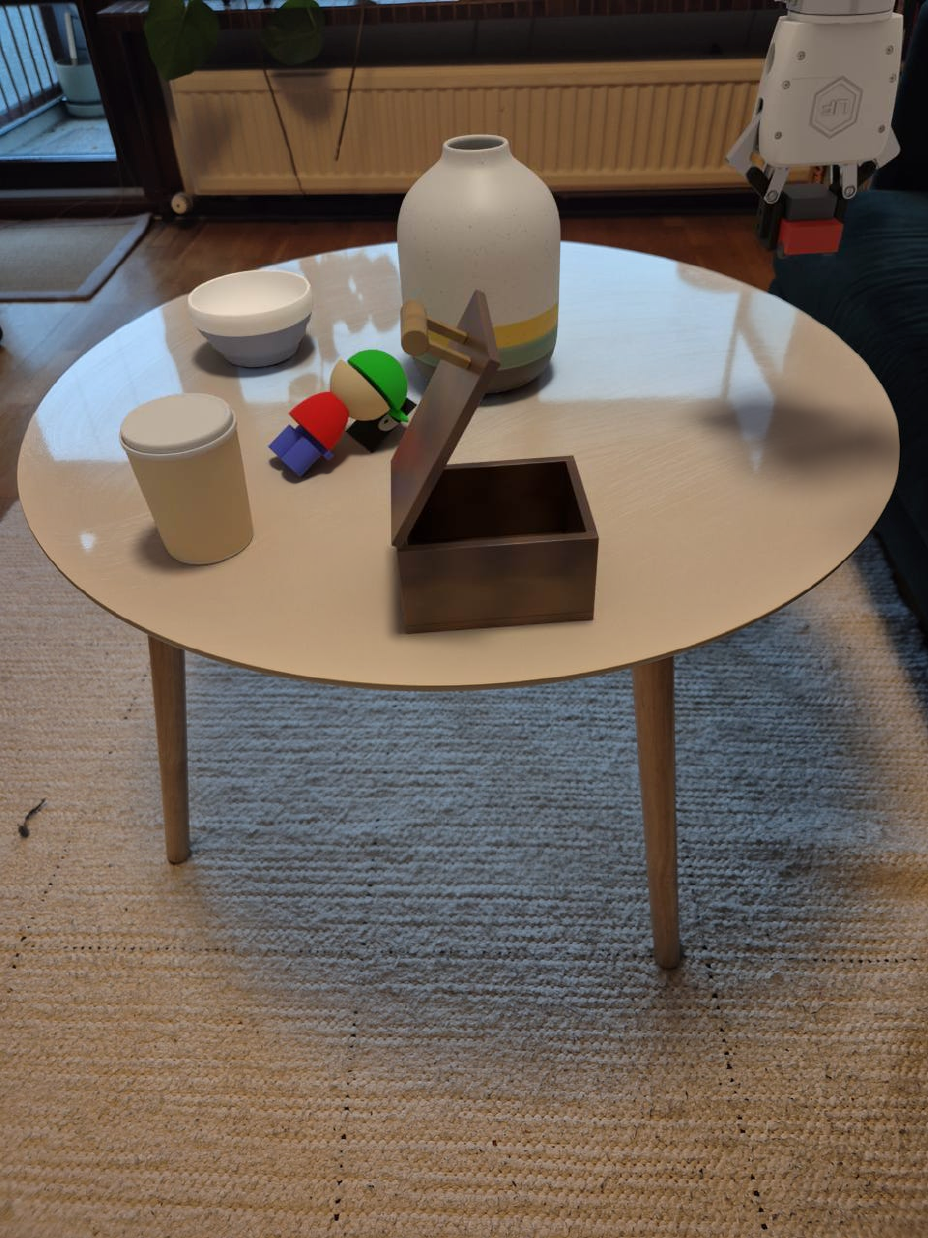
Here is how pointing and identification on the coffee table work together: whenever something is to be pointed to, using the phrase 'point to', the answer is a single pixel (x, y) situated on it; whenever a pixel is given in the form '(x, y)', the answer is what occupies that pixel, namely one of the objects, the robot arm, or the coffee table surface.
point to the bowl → (253, 315)
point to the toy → (347, 410)
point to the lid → (439, 403)
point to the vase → (484, 253)
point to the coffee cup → (191, 474)
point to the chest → (501, 548)
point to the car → (808, 221)
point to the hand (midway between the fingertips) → (795, 242)
